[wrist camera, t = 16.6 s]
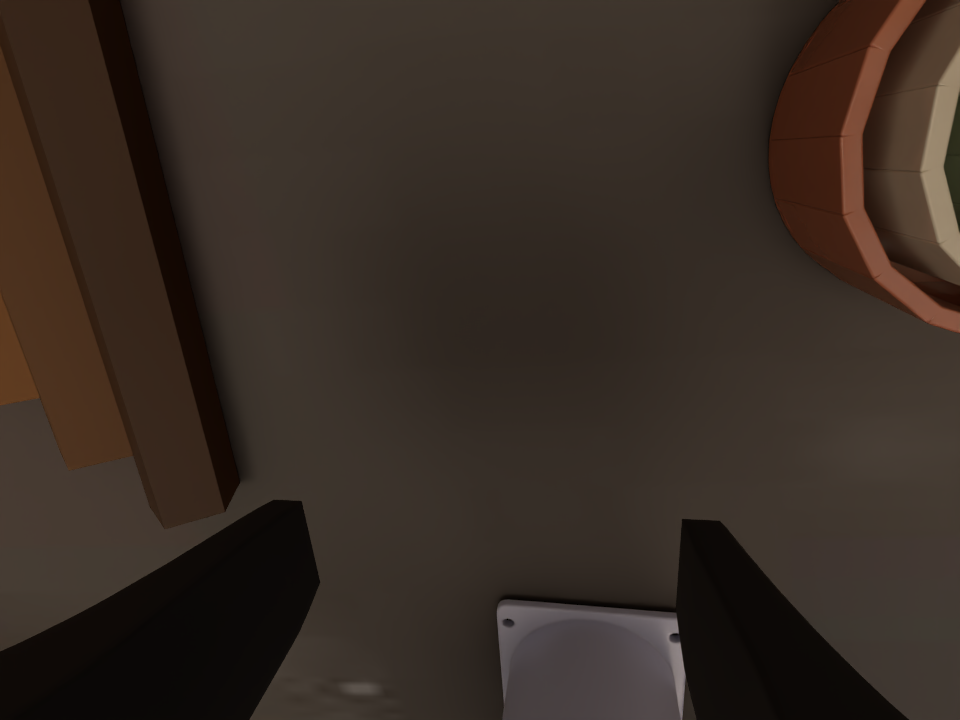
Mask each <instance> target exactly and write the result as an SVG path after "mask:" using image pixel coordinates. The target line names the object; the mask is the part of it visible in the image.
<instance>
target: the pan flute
mask: <svg viewBox="0 0 960 720" xmlns="http://www.w3.org/2000/svg"><path fill="white" fill-rule="evenodd" d="M36 398H40V400H41V402H42V405H43V408H44V410H45V413H46V416H47V418H48V421H49V423H50V426H51V429H52V431H53V434H54V437H55V439H56V442H57V445H58V447H59V450H60V452H61V455H62V457H63V459H64V461H65V463H66V465H67V468H68V470H69V471H70V470H74V469H78V468H82V467H87V466H91V465H95V464H99V463H104V462H108V461H112V460H116V459H121V458H125V457H129V456H134V459H135V462H136V465H137V468H138V471H139V475H140V478H141V481H142V484H143V487H144V490H145V493H146V496H147V499H148V502H149V505H150V508H151V509H152V511H153V512H154V514H155V515H156V517H157V518H158V520H159V521H160V523H161V524H162V526H163V527H164V529H168V528H171V527H175V526H178V525H181V524H185V523H188V522H192V521H195V520H199V519H202V518H206V517H209V516H213V515H216V514H220V513H223V512H225V511H226V509H227V507H228V505H229V503H230V501H231V499H232V497H233V495H234V493H235V491H236V489H237V487H238V485H239V483H240V481H239V477H238V473H237V469H236V465H235V461H234V457H233V453H232V449H231V445H230V441H229V437H228V433H227V429H226V425H225V421H224V417H223V413H222V409H221V405H220V401H219V397H218V393H217V389H216V385H215V381H214V377H213V373H212V369H211V365H210V361H209V357H208V353H207V349H206V345H205V341H204V337H203V333H202V329H201V325H200V321H199V317H198V313H197V309H196V305H195V301H194V297H193V293H192V289H191V285H190V281H189V277H188V273H187V269H186V265H185V261H184V257H183V253H182V249H181V245H180V241H179V237H178V233H177V229H176V225H175V221H174V217H173V213H172V209H171V205H170V201H169V197H168V193H167V189H166V185H165V181H164V177H163V173H162V169H161V165H160V161H159V157H158V153H157V149H156V145H155V141H154V137H153V133H152V129H151V125H150V121H149V117H148V113H147V109H146V105H145V101H144V97H143V93H142V89H141V85H140V81H139V77H138V73H137V69H136V65H135V61H134V57H133V53H132V49H131V45H130V41H129V37H128V33H127V29H126V25H125V21H124V17H123V13H122V9H121V5H120V1H119V0H0V405H4V404H10V403H15V402H20V401H26V400H31V399H36Z"/></svg>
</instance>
